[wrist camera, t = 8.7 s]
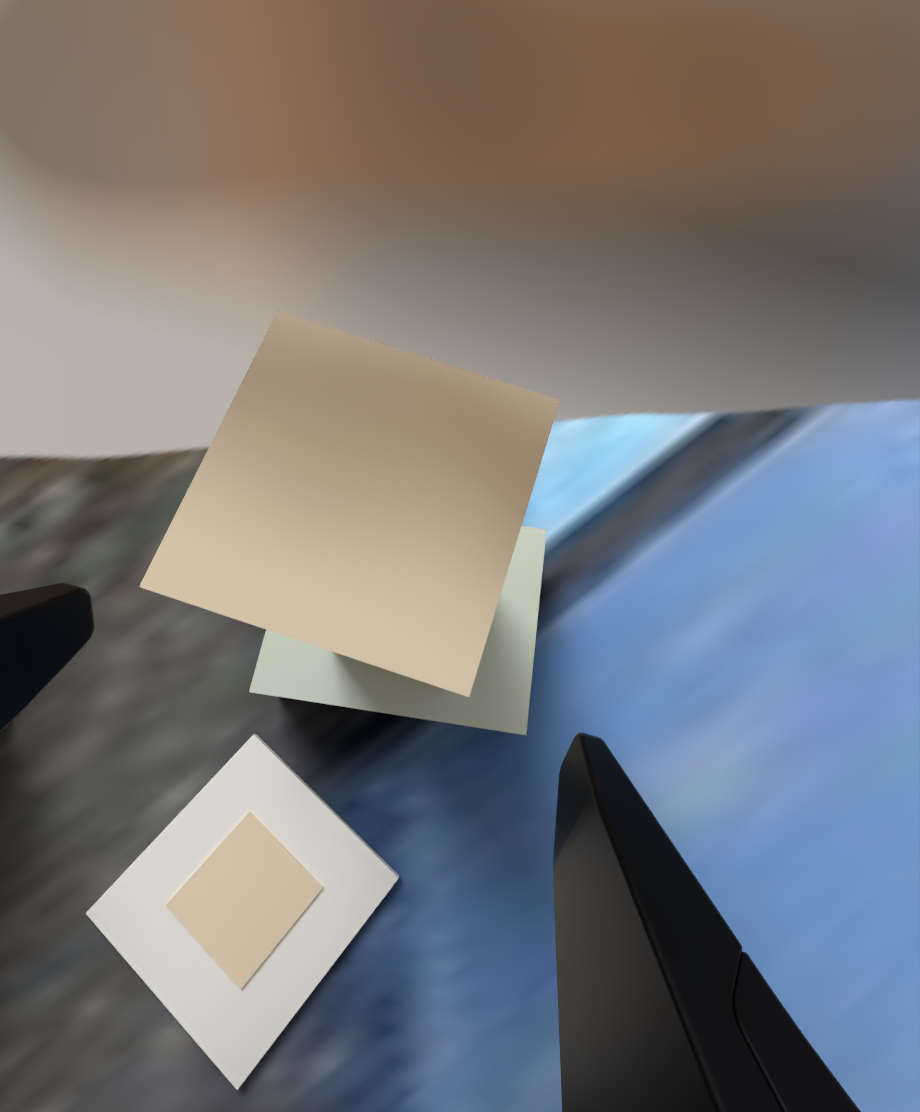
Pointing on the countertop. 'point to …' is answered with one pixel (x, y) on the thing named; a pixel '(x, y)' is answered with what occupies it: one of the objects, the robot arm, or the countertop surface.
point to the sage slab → (371, 688)
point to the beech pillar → (360, 502)
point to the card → (243, 906)
